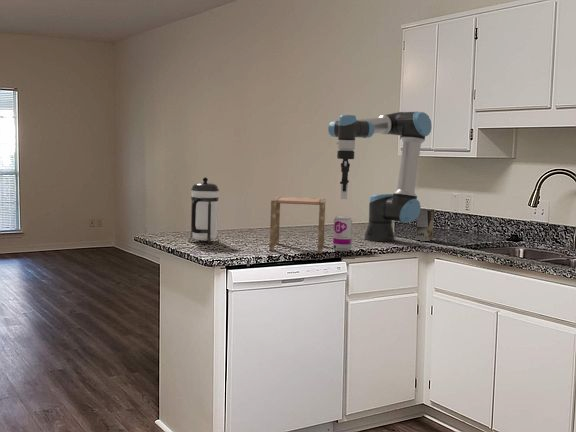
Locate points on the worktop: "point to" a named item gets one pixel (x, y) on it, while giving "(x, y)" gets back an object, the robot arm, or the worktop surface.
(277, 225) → the trapdoor frame
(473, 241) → the worktop surface
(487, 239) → the worktop surface
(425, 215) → the coffee box
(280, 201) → the trapdoor
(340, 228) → the supplement can
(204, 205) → the coffee press
